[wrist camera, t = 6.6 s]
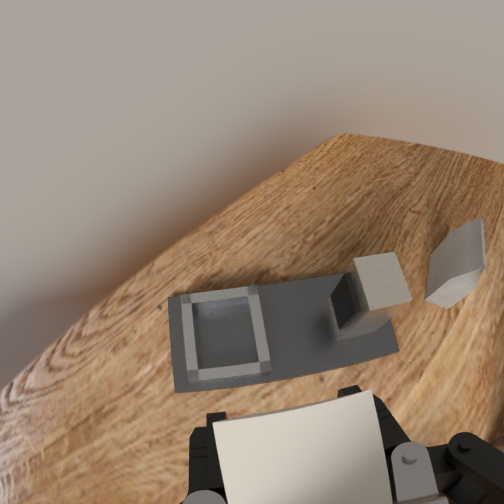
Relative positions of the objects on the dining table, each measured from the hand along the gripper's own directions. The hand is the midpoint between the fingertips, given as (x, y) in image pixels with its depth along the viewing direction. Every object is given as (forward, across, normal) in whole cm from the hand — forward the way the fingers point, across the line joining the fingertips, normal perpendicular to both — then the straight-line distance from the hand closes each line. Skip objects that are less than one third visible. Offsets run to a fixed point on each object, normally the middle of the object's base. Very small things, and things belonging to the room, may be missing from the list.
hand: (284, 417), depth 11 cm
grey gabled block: (+20, -25, +6) cm, 32 cm away
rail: (+19, -4, +7) cm, 20 cm away
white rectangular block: (+2, 0, +4) cm, 5 cm away
